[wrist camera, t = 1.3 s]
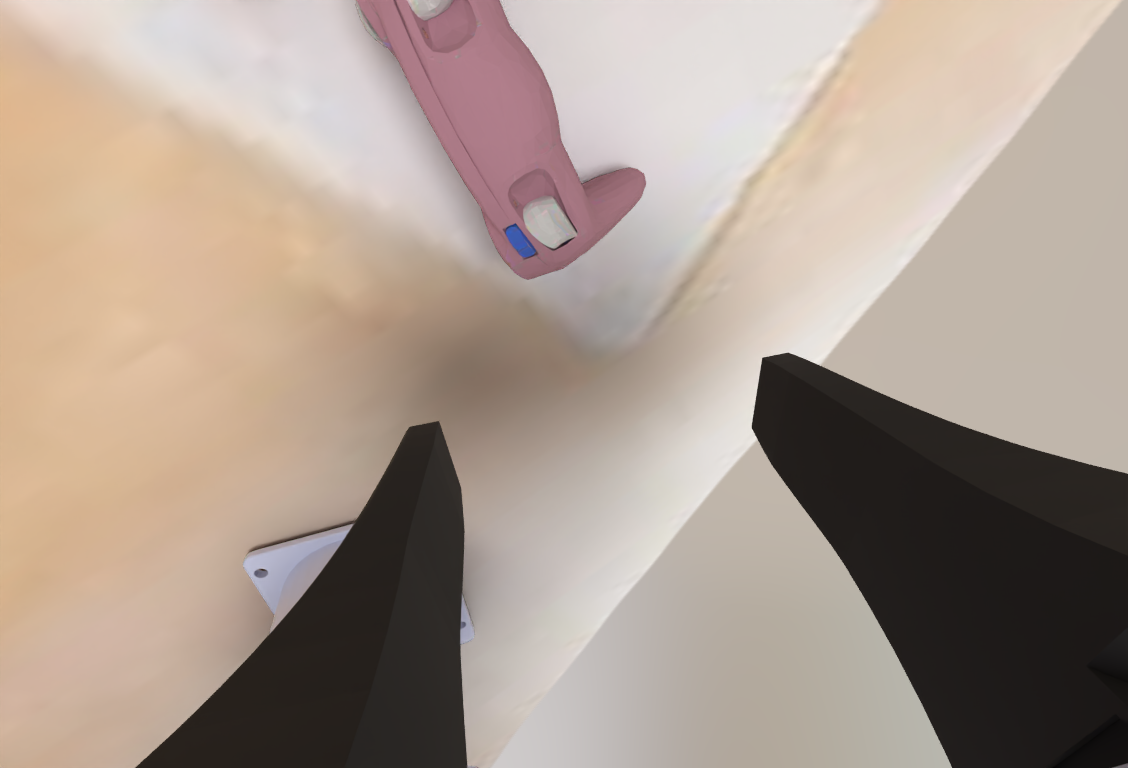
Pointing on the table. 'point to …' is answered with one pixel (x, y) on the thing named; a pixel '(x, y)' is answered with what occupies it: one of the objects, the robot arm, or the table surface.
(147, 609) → the table surface
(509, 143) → the video game controller
